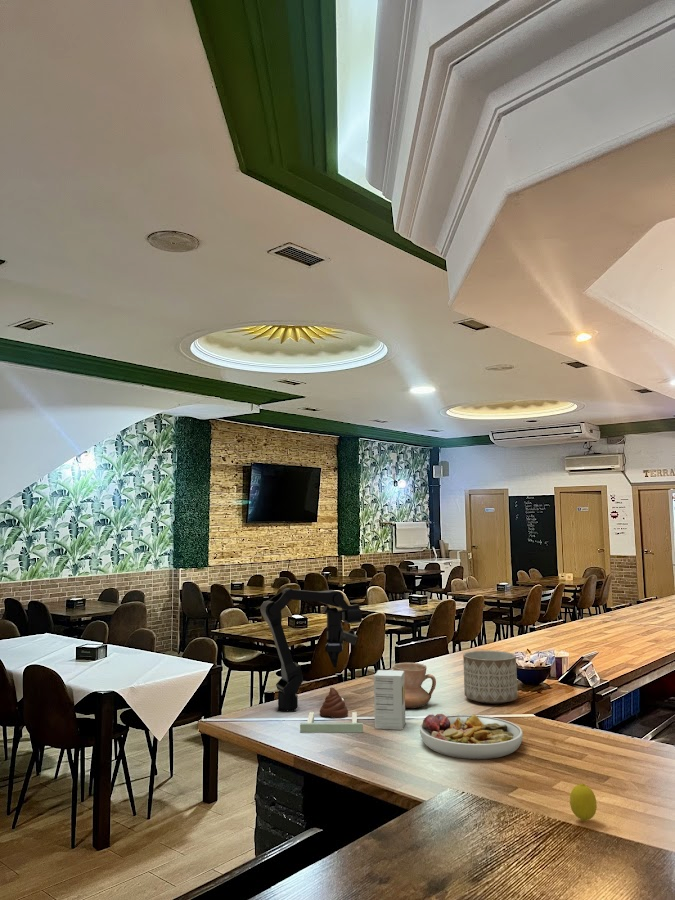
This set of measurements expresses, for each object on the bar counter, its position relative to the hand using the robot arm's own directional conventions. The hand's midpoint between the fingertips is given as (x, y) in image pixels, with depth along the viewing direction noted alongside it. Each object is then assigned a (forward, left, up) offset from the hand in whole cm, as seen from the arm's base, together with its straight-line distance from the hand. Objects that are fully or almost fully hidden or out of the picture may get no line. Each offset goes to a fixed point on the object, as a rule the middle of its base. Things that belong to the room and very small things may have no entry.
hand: (335, 667), depth 252 cm
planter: (+58, +4, -13) cm, 60 cm away
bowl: (+42, -48, -14) cm, 65 cm away
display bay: (0, -28, -13) cm, 30 cm away
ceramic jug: (+28, -3, -13) cm, 31 cm away
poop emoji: (0, -15, -13) cm, 20 cm away
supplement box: (+19, -28, -13) cm, 36 cm away
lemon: (+58, -101, -13) cm, 117 cm away
